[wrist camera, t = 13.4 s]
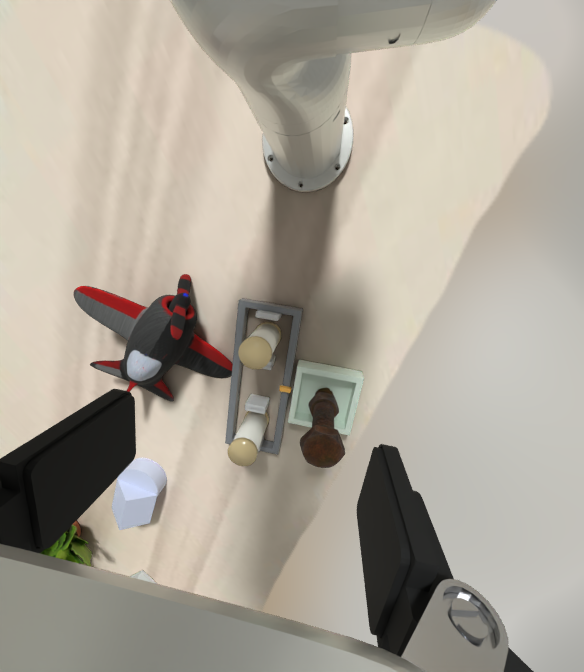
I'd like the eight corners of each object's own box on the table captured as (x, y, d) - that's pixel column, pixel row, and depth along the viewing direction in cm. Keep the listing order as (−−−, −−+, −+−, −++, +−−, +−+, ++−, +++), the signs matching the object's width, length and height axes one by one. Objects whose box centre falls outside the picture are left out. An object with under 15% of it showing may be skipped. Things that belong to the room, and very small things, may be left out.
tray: (299, 359, 48) (297, 365, 45) (361, 371, 47) (364, 378, 44) (289, 413, 51) (287, 422, 48) (348, 425, 50) (349, 435, 48)
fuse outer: (246, 405, 52) (228, 438, 42) (270, 410, 52) (257, 444, 42) (244, 425, 53) (226, 462, 44) (267, 430, 53) (254, 468, 43)
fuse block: (228, 436, 54) (222, 448, 51) (242, 298, 46) (235, 301, 43) (281, 448, 54) (278, 460, 50) (305, 309, 45) (303, 313, 42)
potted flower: (5, 520, 71) (-94, 602, 54) (35, 464, 64) (-69, 539, 47) (87, 573, 72) (16, 667, 56) (125, 524, 65) (55, 616, 49)
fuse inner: (256, 319, 47) (239, 335, 37) (282, 323, 47) (272, 340, 37) (254, 345, 48) (237, 366, 39) (280, 348, 48) (269, 371, 38)
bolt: (342, 404, 49) (348, 465, 34) (316, 411, 50) (311, 473, 35) (332, 375, 47) (334, 427, 33) (305, 383, 48) (295, 436, 34)
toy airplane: (83, 323, 53) (18, 378, 41) (119, 222, 42) (44, 256, 30) (210, 385, 62) (188, 445, 50) (268, 316, 51) (257, 372, 39)
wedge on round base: (158, 509, 63) (170, 467, 59) (139, 538, 56) (151, 493, 52) (122, 494, 63) (131, 451, 59) (99, 521, 56) (107, 475, 52)
